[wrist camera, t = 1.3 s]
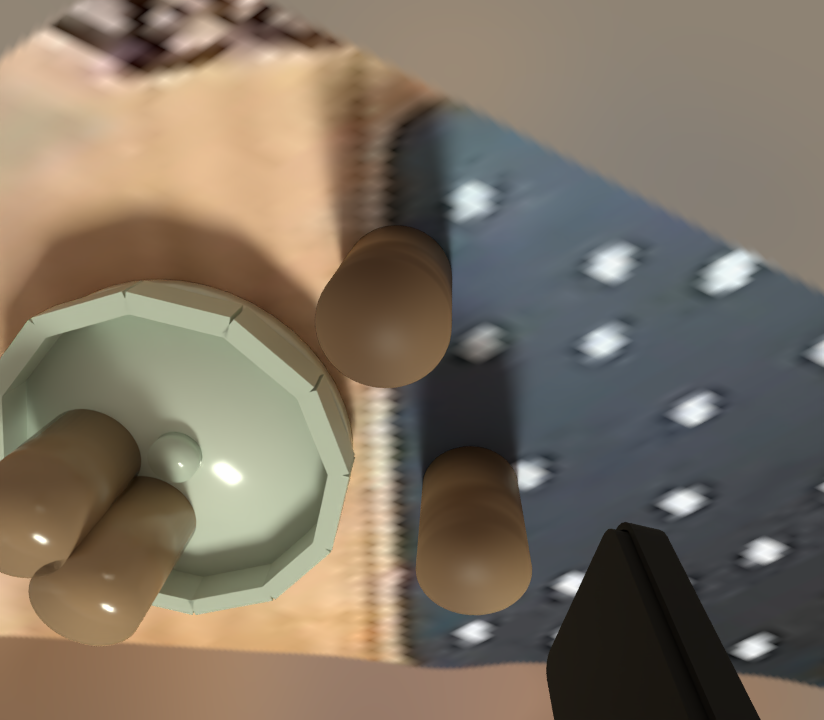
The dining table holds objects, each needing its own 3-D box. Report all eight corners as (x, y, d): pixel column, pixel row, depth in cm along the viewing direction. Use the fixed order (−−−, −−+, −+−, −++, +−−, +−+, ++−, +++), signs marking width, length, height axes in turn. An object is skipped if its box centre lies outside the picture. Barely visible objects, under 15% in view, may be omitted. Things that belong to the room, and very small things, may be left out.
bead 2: (530, 459, 25) (547, 540, 20) (502, 534, 26) (512, 625, 22) (435, 436, 25) (431, 512, 20) (413, 513, 26) (404, 600, 22)
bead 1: (464, 241, 22) (467, 278, 17) (436, 342, 23) (432, 401, 19) (355, 213, 21) (328, 243, 17) (334, 316, 23) (304, 370, 18)
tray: (385, 330, 23) (364, 401, 17) (321, 600, 29) (289, 719, 23) (19, 239, 23) (-121, 283, 17) (26, 531, 28) (-79, 636, 23)
